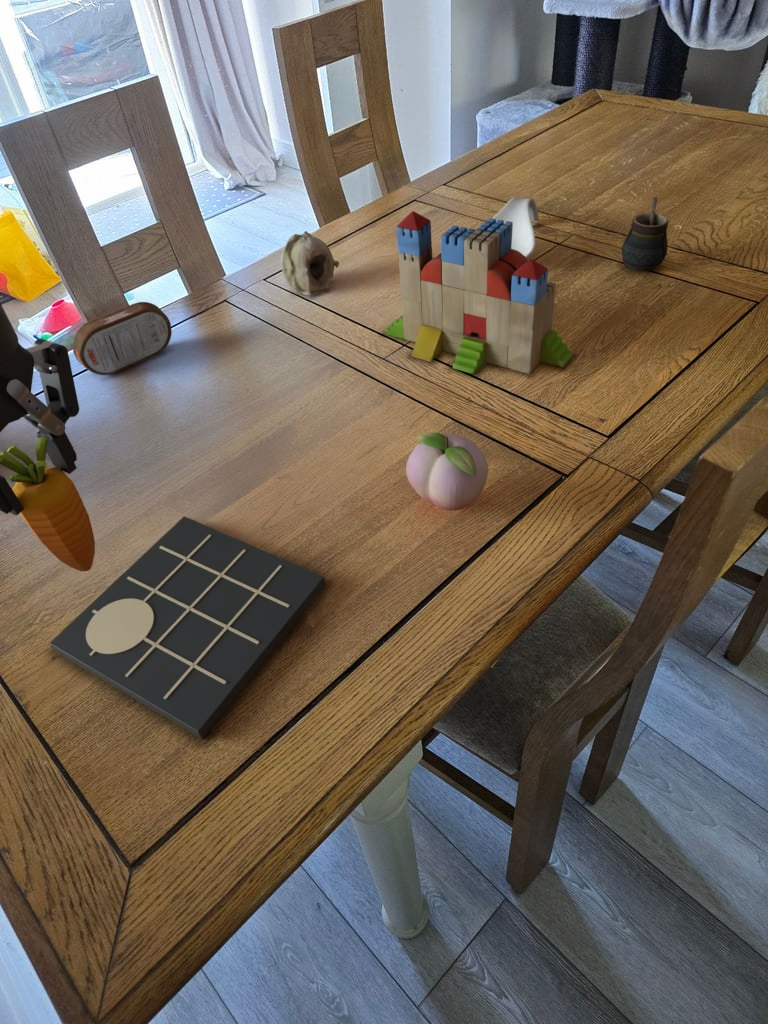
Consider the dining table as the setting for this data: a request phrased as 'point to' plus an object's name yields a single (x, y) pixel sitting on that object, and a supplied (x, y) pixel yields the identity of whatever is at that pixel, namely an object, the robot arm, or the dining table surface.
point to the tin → (122, 338)
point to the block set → (475, 298)
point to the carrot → (52, 507)
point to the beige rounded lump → (307, 264)
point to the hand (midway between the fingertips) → (40, 488)
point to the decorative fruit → (447, 470)
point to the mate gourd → (646, 241)
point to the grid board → (190, 623)
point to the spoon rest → (521, 223)
